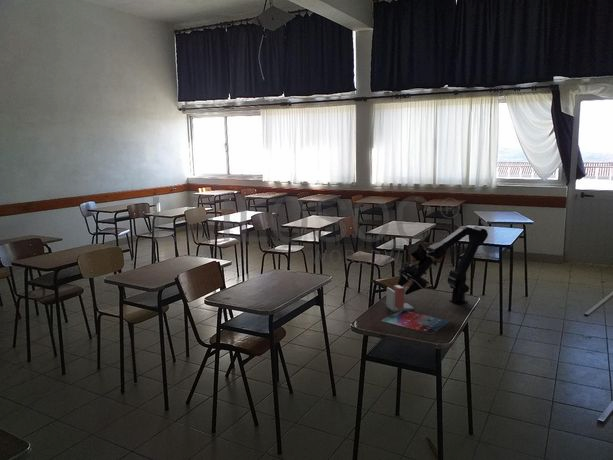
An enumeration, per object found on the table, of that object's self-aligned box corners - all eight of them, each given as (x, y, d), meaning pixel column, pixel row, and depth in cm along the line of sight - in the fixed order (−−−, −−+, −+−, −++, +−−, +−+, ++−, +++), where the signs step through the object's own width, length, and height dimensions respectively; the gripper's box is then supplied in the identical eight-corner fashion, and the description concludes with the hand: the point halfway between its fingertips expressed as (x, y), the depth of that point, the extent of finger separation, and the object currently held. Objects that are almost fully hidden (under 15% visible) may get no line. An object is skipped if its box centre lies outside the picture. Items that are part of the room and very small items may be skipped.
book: (398, 304, 232) (399, 284, 230) (403, 308, 227) (404, 287, 225) (393, 305, 231) (393, 285, 229) (397, 308, 226) (398, 288, 224)
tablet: (400, 310, 228) (400, 308, 228) (450, 322, 213) (450, 320, 213) (379, 322, 214) (379, 320, 214) (432, 336, 198) (432, 334, 198)
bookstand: (406, 304, 234) (407, 285, 233) (413, 309, 228) (414, 289, 226) (386, 307, 231) (386, 287, 229) (392, 312, 225) (393, 291, 223)
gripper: (402, 252, 235) (381, 275, 234) (421, 261, 217) (399, 286, 217) (416, 266, 239) (396, 289, 238) (436, 275, 221) (414, 301, 220)
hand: (400, 291), depth 228 cm, fingers open, 9 cm apart
